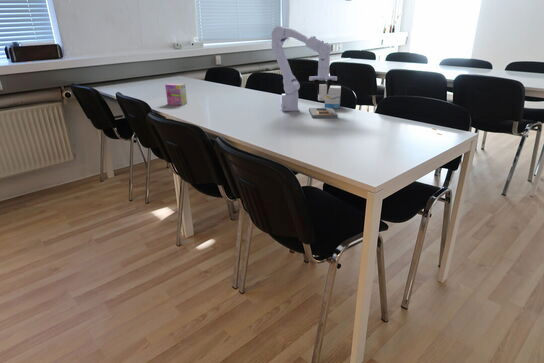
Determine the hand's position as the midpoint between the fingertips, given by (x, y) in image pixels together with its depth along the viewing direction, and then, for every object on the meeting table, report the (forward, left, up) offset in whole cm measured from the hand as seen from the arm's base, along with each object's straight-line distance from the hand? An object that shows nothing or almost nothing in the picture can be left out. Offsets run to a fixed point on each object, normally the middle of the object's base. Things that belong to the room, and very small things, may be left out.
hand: (322, 94), depth 201 cm
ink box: (+8, +14, -10) cm, 19 cm away
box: (-84, +24, -10) cm, 88 cm away
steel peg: (0, 0, -3) cm, 3 cm away
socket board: (0, -5, -10) cm, 11 cm away
